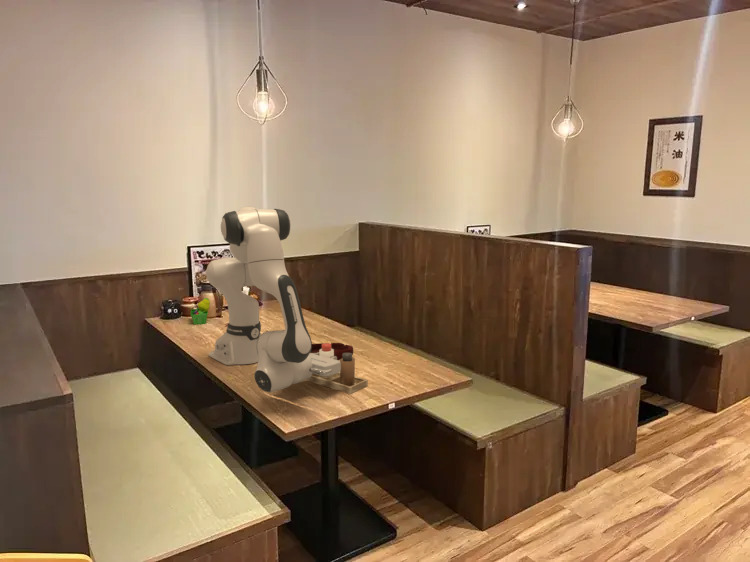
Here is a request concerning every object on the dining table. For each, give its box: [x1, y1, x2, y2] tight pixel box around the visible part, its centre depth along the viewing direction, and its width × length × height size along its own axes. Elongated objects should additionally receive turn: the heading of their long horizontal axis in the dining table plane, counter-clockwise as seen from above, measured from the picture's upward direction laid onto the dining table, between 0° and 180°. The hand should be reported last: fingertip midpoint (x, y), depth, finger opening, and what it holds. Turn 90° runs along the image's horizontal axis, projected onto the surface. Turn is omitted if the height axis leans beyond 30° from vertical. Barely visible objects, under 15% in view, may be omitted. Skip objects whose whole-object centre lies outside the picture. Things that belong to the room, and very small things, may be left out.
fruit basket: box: [190, 297, 211, 326], centre depth 270 cm, size 11×9×11 cm
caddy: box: [306, 372, 369, 395], centre depth 192 cm, size 19×9×3 cm, turn 53°
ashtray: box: [310, 342, 354, 361], centre depth 219 cm, size 18×16×5 cm
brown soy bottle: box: [339, 353, 356, 386], centre depth 189 cm, size 5×5×11 cm
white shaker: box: [319, 342, 334, 378], centre depth 194 cm, size 5×5×11 cm
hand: (328, 356), depth 194 cm, fingers closed on white shaker, 5 cm apart
